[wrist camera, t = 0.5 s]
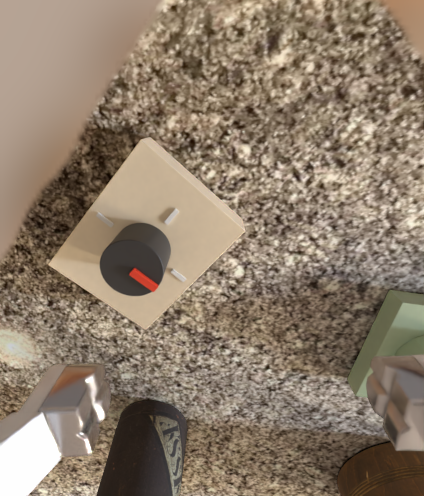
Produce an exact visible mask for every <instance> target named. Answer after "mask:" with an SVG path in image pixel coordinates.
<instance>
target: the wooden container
mask: <svg viewBox="0 0 424 496" xmlns="http://www.w3.org/2000/svg"><path fill="white" fill-rule="evenodd" d="M337 484H338V488H339V491H340V494H341V496H424V451H396V450H395V448H394V446H393V444H392V443H391V442H390V443H385V444H381V445H377V446H374V447H371V448H369V449H366V450H364V451H362V452H360V453H358V454H357V455H355V456H353V457H352V458H351V459H350V460H348V461H347V462H346V463H345V465H344V466H343V467H342V468H341V470H340V472H339V474H338V478H337Z"/></svg>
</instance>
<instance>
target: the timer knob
mask: <svg viewBox="0 0 424 496" xmlns="http://www.w3.org/2000/svg"><path fill="white" fill-rule="evenodd" d="M170 255H171V247H170V243H169V240H168V238H167V237H166V235H165V234H164V233H163V232H162V231H161V230H160V229H158V228H157V227H155V226H153V225H150V224H147V223H134V224H131V225H128V226H126V227H125V228H124V229H122V230H121V231H120V233H119V234H118V235H117V236H116V237H115V238H114V240H113V241H112V242H111V243H110V244H109V245H108V246H107V248H106V249H105V250H104V252H103V253H102V255H101V258H100V271H101V274H102V277H103V278H104V280H105V282H106V283H107V284H108V285H109V286H110V287H111V288H112V289H114V290H115V291H117V292H119V293H121V294H124V295H128V296H143V295H146V294H149V293H151V292H154V291H155V290H156V289H157V288H158V286H159V285H160V283H161V282H162V279H163V276H164V273H165V270H166V267H167V264H168V262H169V259H170Z"/></svg>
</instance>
